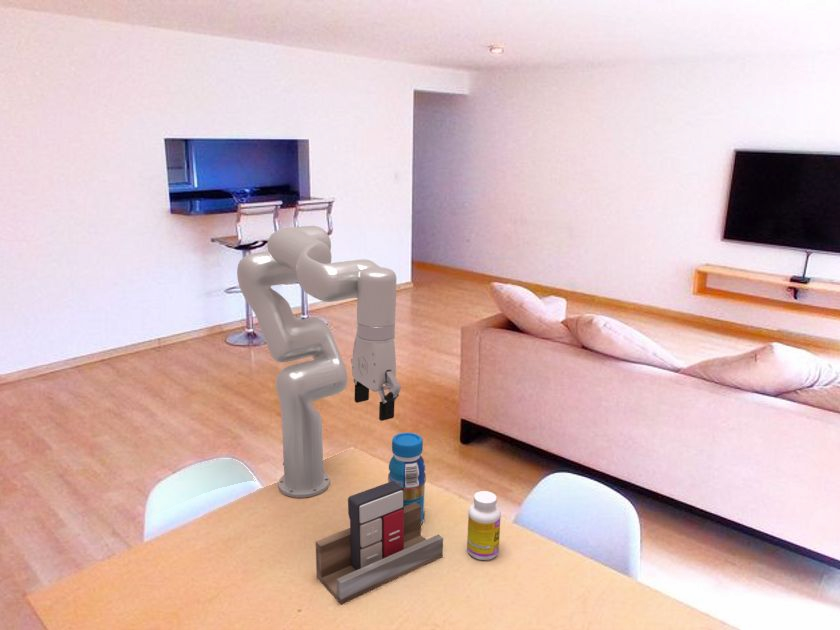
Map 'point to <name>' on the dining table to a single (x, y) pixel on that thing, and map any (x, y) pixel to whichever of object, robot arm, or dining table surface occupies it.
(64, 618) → the dining table surface
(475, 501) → the supplement bottle
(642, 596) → the dining table surface
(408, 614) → the dining table surface
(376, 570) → the wooden channel stand
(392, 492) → the calculator
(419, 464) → the beverage bottle
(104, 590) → the dining table surface
